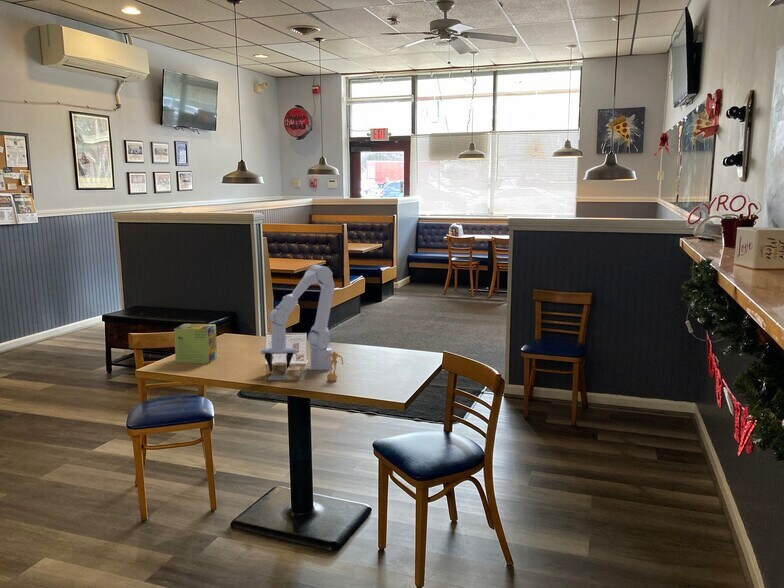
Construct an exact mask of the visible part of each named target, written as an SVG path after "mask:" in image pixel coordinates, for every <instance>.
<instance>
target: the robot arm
mask: <svg viewBox="0 0 784 588" xmlns="http://www.w3.org/2000/svg"><path fill="white" fill-rule="evenodd" d="M333 274H334V273H333V272H332V270H331V269H330V268H329V267H328V266H326V265H325V266H324V265H319V264H316V263H315V264H312V265H311V266H309V267H308V269H307V270H306V271H305V273H304V275H303V277H302V278H301V279H300V281H299V282H298V284H297V285H296V287H295V288H294V289H293V291H292V293H291V292H290V293H289V294H286V295H284V296H283V297H282V300H281V301H280V303H279V304H278V305H276V306H275V308H274V309H272V310H271V311H270V312H269V315H268V320H269V321H270V323H271V324H270V326H271V327H270V330H271V347H268V348H261V349H260V355H264V359H265V360H266V363H267V364H268V368H269V372H270V373H271V372H272V373H273V355H283V354H284V355H286V356H285V357H286V358H285V359H286V371H287V368H288V367H289V366H290V364H291V360H292V358H293V356H294V355H297V354H298V348H293V347H287V338H286V336H287V333H286V331H287V330H286V323H287V322H288V321H289V320H288V319H289V315H290V314H291V313H292V312H293V310H294V309H295V308H296V307H297V305H298V304H299V298H300V297H301V296H302V295H303V293H304V292H306V290H307V289H308V288H309V287H310V286H311V285H315V284H317V285H318V286H319V287H320V294H319V299H318V305H317V309H316V316H315V319H314V320H315V321H314V324H313V325H312V326H311V328H310V331H309V333H308V334H307V342H308V343H309V346H310V347H309V348H310V350H309V352H310V356H309V358H310V360H309V361H310V363H309V364H310V366H309V367H308V370H314V371H315V370H321V371H322V370H327V371H328V370H330V371H331V367H330V363H331V360H332V361H333V359H332V356H329V357H328V358H327V356H328V355H330V354H332V353H333V348H332V347H329V345H330V343H331V338H330V330H329V327H328V325H329V319H330V315H331V314H330V313H331V308H332V303H333V298H334V293H335V286H336V285H335V282H334V278H333ZM326 358H327V360H325V359H326ZM324 361H325V363H324Z"/></svg>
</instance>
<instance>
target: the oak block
mask: <svg viewBox="0 0 784 588" xmlns="http://www.w3.org/2000/svg"><path fill="white" fill-rule="evenodd" d="M286 368H287V367H286ZM286 371H287V380H286V381H300V380H299V379H300V377H301V371H302V366H296V365H295V366H292V365H291V366H290V365H289V367H288V368H287V370H286Z"/></svg>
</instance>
